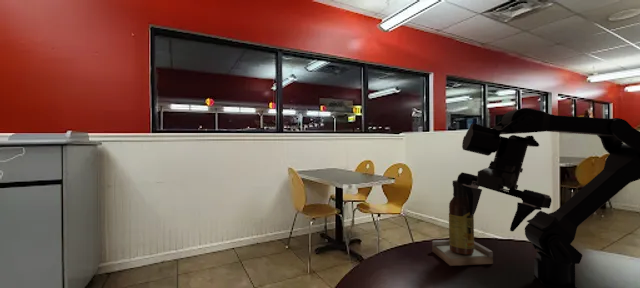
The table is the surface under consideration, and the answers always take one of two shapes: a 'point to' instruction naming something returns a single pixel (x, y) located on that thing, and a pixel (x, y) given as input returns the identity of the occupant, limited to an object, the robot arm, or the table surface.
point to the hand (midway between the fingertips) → (490, 222)
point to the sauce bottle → (460, 222)
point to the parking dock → (454, 259)
